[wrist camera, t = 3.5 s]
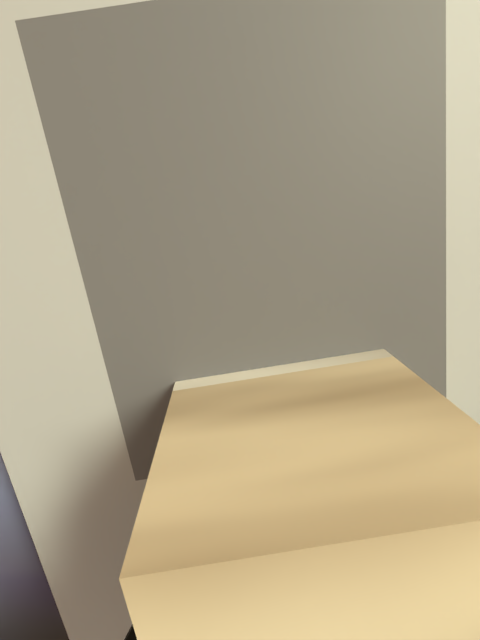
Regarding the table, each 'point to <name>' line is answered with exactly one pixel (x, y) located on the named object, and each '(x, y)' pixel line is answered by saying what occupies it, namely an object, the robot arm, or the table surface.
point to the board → (216, 230)
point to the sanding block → (309, 509)
